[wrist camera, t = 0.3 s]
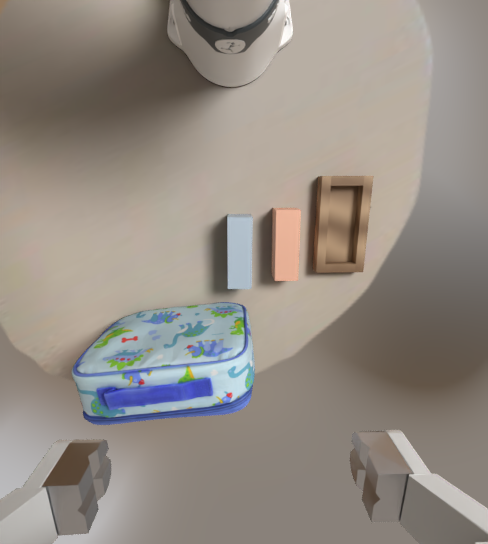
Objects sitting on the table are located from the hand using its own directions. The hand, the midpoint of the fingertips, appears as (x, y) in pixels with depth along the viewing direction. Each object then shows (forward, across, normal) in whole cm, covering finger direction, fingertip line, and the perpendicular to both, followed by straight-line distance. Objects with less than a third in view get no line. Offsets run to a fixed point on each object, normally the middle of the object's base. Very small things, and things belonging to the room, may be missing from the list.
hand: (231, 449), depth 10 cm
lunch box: (+46, +10, +18) cm, 50 cm away
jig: (+46, -19, -2) cm, 49 cm away
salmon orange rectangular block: (+46, -9, +1) cm, 47 cm away
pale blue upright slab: (+46, -1, +2) cm, 46 cm away
